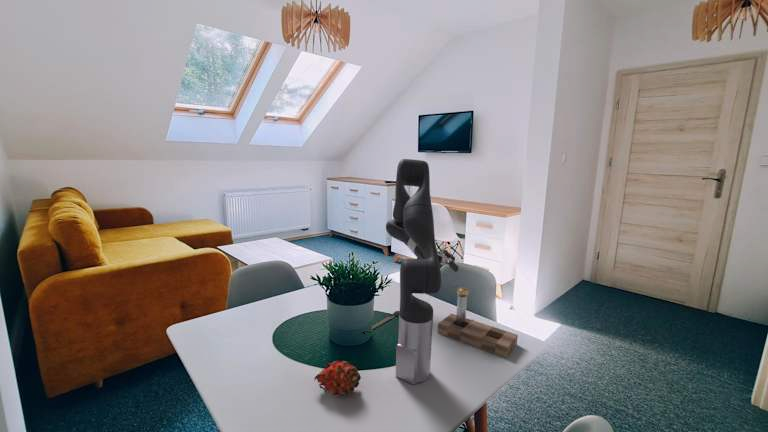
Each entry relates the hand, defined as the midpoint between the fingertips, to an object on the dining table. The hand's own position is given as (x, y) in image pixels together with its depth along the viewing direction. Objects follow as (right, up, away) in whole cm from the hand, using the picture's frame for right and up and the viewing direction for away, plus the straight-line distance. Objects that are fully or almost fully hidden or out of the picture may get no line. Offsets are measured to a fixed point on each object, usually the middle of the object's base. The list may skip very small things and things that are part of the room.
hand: (448, 272), depth 124 cm
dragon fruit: (-35, -25, -33) cm, 54 cm away
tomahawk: (-22, -20, +4) cm, 30 cm away
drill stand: (+9, -21, -5) cm, 24 cm away
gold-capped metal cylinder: (+4, -21, -1) cm, 21 cm away
